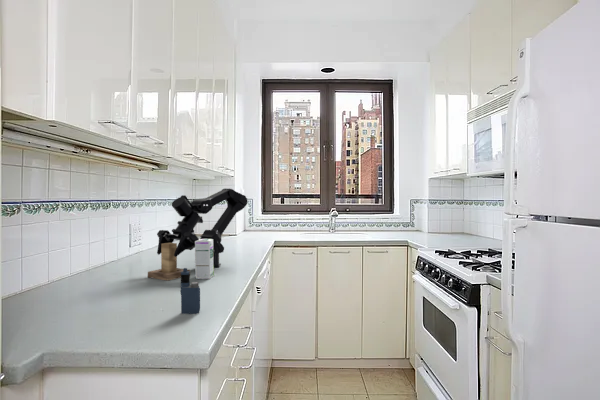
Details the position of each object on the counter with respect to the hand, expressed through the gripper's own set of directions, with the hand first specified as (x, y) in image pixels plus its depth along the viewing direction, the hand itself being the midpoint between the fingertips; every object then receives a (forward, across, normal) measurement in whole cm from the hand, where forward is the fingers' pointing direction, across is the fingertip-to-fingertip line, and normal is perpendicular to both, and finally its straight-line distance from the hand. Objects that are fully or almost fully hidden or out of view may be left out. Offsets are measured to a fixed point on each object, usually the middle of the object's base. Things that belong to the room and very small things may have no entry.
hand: (166, 255), depth 152 cm
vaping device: (+26, -41, +14) cm, 50 cm away
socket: (+5, 0, -7) cm, 8 cm away
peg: (+4, 0, -6) cm, 8 cm away
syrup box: (+1, -13, -11) cm, 17 cm away
